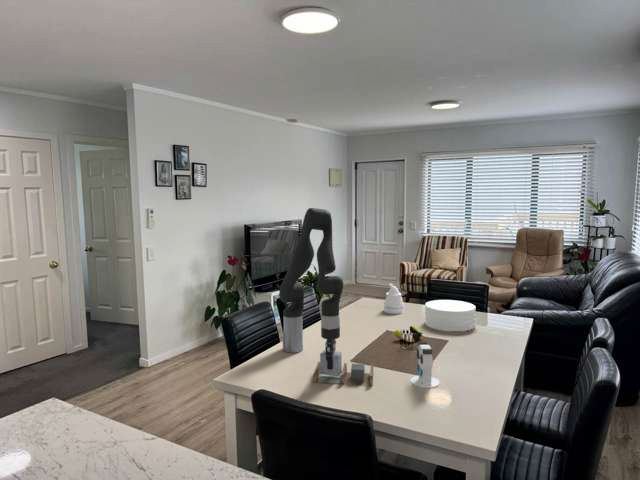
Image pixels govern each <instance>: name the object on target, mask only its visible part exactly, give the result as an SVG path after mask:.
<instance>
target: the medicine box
mask: <svg viewBox="0 0 640 480" xmlns="http://www.w3.org/2000/svg"><path fill="white" fill-rule="evenodd" d="M332 352H333V351H332ZM328 357H331V356H328ZM342 357H343V356H342V352H341V351H334V355H333V369H332V370H328V369H327V361H326V350H324V349H323V350H322V351H321V353H320V354H319V358H320V359H319V360H320V361H319V362H320V374H325V375H334V376H339V375H340V374H341V372H342V371H343V366H342V365H343V361H342V360H343V359H342Z"/></svg>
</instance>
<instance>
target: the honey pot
mask: <svg viewBox="0 0 640 480" xmlns="http://www.w3.org/2000/svg"><path fill="white" fill-rule="evenodd" d="M388 286H389V287H390V288H389V290H388V292H386V293H385V295H386V297H385V300H384V301H383V312H384V313H386V314H392V315H393V314H394V315H395V314H396V315H397V314H403V313H404V312H405V303H404V300H403V298H402V293H401V292H400V290H399V289H398V287H397V286H395V285H394V284H393V283H388Z"/></svg>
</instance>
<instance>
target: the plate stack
mask: <svg viewBox="0 0 640 480" xmlns="http://www.w3.org/2000/svg"><path fill="white" fill-rule="evenodd" d="M476 308H477V307H476V305H474V304H472V302H471V303H470V302H467V301H463V300H454V299H435V300H429V301H426V302H425V305H424V309H425V310H424V311H425V312H424V315H425V316H424V324H425V326H427V327H429V328H431V329H434V330H438V331H442V332H443V331H444V332H452V331H461V332H467V330H469V331H472V330H474V329H476V316H477V315H476V314H477V313H476V310H477V309H476ZM473 328H474V329H473ZM471 329H472V330H471Z"/></svg>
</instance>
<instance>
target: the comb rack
mask: <svg viewBox="0 0 640 480" xmlns="http://www.w3.org/2000/svg"><path fill="white" fill-rule="evenodd" d="M347 366H348V364H347V362H344V363H343V366H342V372H341V374H340V375H339V376H334V375H325V374H320V361H318V362H317V365H316V366H315V369H314V371H313V384H324V385H325V384H326V385H341V386H342V385H343V386H360V387H361V386H363V387H373V386H374V385H373V383H374V363H373V364H370V369H369V370H370V371H369V373H365V377H364V382H351V372H348V367H347Z"/></svg>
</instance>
